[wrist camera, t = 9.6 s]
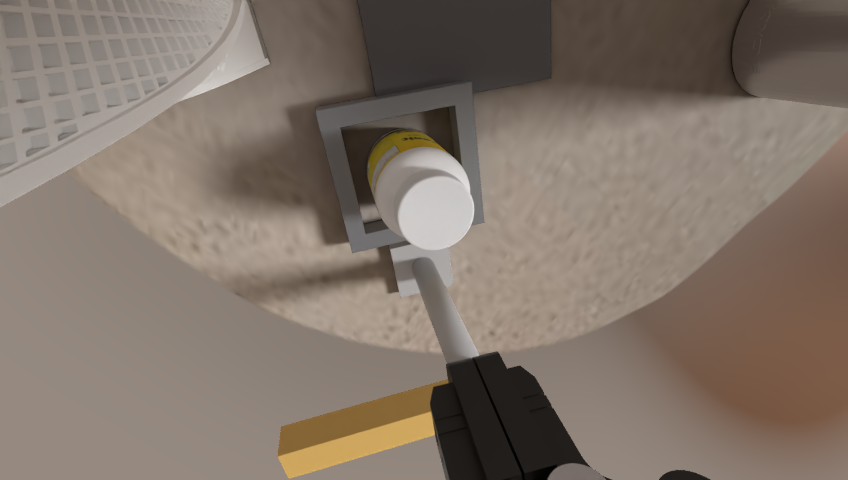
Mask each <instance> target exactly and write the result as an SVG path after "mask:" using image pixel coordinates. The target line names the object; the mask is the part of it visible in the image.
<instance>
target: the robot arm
mask: <svg viewBox="0 0 848 480" xmlns="http://www.w3.org/2000/svg"><path fill="white" fill-rule="evenodd" d="M732 64H733V71H734V74H735V77H736V80H737V81H738V83H739V84H740V86H741V87H742V89H744V90H745V91H746V92H748V93H749V94H751V95H754V96H757V97H762V98H771V99H779V100H787V101H795V102H803V103H809V104H817V105H825V106H833V107H841V108H848V0H750V2H749V4H748V5H747V7H746V9H745V11H744V12H743V14H742V17H741V19H740V22H739V24H738V27H737V30H736V33H735V37H734V41H733V50H732ZM446 368H447V376H448V383H447V384H443V385H439V386H435V387H433V390H432V395H431V400H430V408H431V414H432V420H433V425H434V431H435V437H436V442H437V446H438V450H439V454H440V458H441V462H442V466H443V469H444V473H445V478H446V480H611V479H609V478H606V477H604V476H602V475H601V474H600V473H598V472H597V471H596V470H594V469H592V468H591V467H590V466H589V465H588V464H587V463H586V462H585V460H584V459H583V458H582V456H581V454H580V453H579V451H578V449H577V448H576V446H575V444H574V443H573V441H572V439H571V437H570V436H569V434H568V433H567V431H566V429H565V427H564V426H563V424H562V422H561V421H560V419H559V417H558V415H557V414H556V412H555V410H554V409H553V408H552V406H551V404H550V402H549V400H548V399H547V397H546V396H545V395H544V392H543V390H542V388H541V387H540V385H539V383H538V382H537V380H536V378H535V377H534V376H533V375H531V374H530V373H529V372H527V371H526V370H525V369H524V368H522V367H521V366H517V367H513V368H508V369H507V368H506V366H505V364H504V362H503V360H502V358H501V356H500V354H499V353H498V352H492V353H488V354H484V355H480V356H476V357H472V358H468V359H464V360H459V361H455V362H451V363H447V364H446ZM659 480H710V479H708V478H706V477H704V476H702V475H699V474H697V473H694V472H690V471H685V470H675V471H670V472H668V473H666V474H664V475H663V476H662V477H661V478H660V479H659Z"/></svg>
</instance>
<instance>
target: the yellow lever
mask: <svg viewBox="0 0 848 480" xmlns="http://www.w3.org/2000/svg"><path fill="white" fill-rule="evenodd" d="M447 383H448V379H447V380H444V381H440V382H436V383H433V384H430V385H426V386H422V387H419V388H415V389H412V390H408V391H405V392H401V393H398V394H395V395H391V396H387V397H384V398H380V399H377V400H373V401H370V402H366V403H363V404H359V405H356V406H352V407H349V408H345V409H341V410H338V411H335V412H331V413H327V414H324V415H320V416H317V417H313V418H310V419H307V420H303V421H299V422H296V423H293V424H289V425H286V426H282V427H281V432H280V441H279V449H278V458H279V460H280V462H281V464H282V466H283V468H284V470H285V472H286V474H287V476H288V478H289V479H290V478H293V477H296V476H300V475H303V474H307V473H310V472H313V471H317V470H320V469H323V468H327V467H330V466H333V465H336V464H340V463H343V462H346V461H350V460H353V459H356V458H360V457H363V456H366V455H370V454H373V453H377V452H380V451H383V450H386V449H390V448H393V447H397V446H400V445H403V444H407V443H410V442H413V441H417V440H420V439H423V438H426V437H430V436H433V435H435V431H434V425H433V420H432V414H431V408H430V400H431V395H432V390H433V387H435V386H439V385H443V384H447Z"/></svg>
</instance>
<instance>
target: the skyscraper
mask: <svg viewBox="0 0 848 480" xmlns="http://www.w3.org/2000/svg"><path fill="white" fill-rule="evenodd" d="M269 64H270V61H269V58H268V55H267V52H266V49H265V46H264V43H263V39H262V36H261V33H260V30H259V27H258V24H257V21H256V18H255V14H254V11H253V8H252V5H251V2H250V0H0V207H2V206H4V205H6V204H8V203H9V202H11V201H13V200H15V199H17V198H18V197H20V196H22V195H24V194H26V193H27V192H29V191H31V190H33V189H35V188H36V187H38V186H40V185H42V184H44V183H46V182H47V181H49V180H51V179H53V178H55V177H56V176H58V175H60V174H62V173H64V172H66V171H67V170H69V169H71V168H73V167H75V166H76V165H78V164H80V163H81V162H83V161H85V160H86V159H88V158H90V157H91V156H93V155H95V154H96V153H98V152H100V151H101V150H103V149H105V148H107V147H108V146H110V145H112V144H113V143H115V142H117V141H118V140H120V139H122V138H123V137H125V136H127V135H128V134H130V133H132V132H133V131H135V130H137V129H138V128H140V127H141V126H143V125H144V124H146V123H147V122H149V121H150V120H152V119H153V118H155V117H156V116H158V115H159V114H160V113H162V112H163V111H165V110H166V109H168V108H169V107H171V106H172V105H174V104H175V103H177V102H180V101H183V100H185V99H188V98H191V97H194V96H196V95H199V94H202V93H204V92H207V91H209V90H212V89H214V88H217V87H219V86H222V85H224V84H227V83H229V82H231V81H233V80H236V79H238V78H240V77H242V76H245V75H247V74H249V73H252V72H254V71H256V70H258V69H260V68H262V67H265V66H267V65H269Z"/></svg>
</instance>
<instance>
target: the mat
mask: <svg viewBox="0 0 848 480" xmlns="http://www.w3.org/2000/svg"><path fill="white" fill-rule="evenodd" d="M357 1H358V6H359V11H360V16H361V21H362V26H363V32H364V37H365V42H366V47H367V52H368V57H369V63H370V68H371V73H372V78H373V83H374V88H375V93H376V97H378V96H383V95H388V94H394V93H399V92H404V91H410V90H415V89H420V88H426V87H431V86H436V85H442V84H447V83H452V82H458V81H463V80H466V81H470V82H471V83H472V93H476V92H482V91H487V90H492V89H497V88H502V87H508V86H513V85H518V84H523V83H529V82H534V81H539V80H544V79H549V78H551V0H357Z"/></svg>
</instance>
